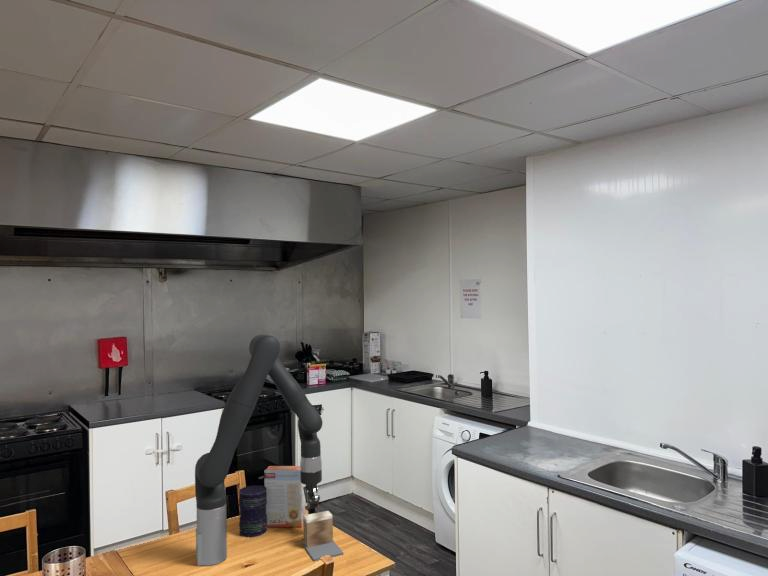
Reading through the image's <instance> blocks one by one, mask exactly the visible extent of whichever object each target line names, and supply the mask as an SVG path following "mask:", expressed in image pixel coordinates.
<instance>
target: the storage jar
mask: <svg viewBox="0 0 768 576" xmlns="http://www.w3.org/2000/svg"><path fill="white" fill-rule="evenodd" d="M266 491H267V489H266V487H265V485H259V484H258V485H257V484H255V485H248V486H244V487H242V488H240V489H239V491H238V492H239V493H238V503H239V504H238V506H239V520H238V521H239V522H238V524H239V525H238V527H239V536H241V537H242V536H244V537H243V538H248V537H249V539H250V538H257V537H260V536H263V535H265V534H266V533H267V532H266V531H268V527H267V514H266V504H267V492H266ZM264 533H265V534H264ZM262 534H263V535H262Z"/></svg>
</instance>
